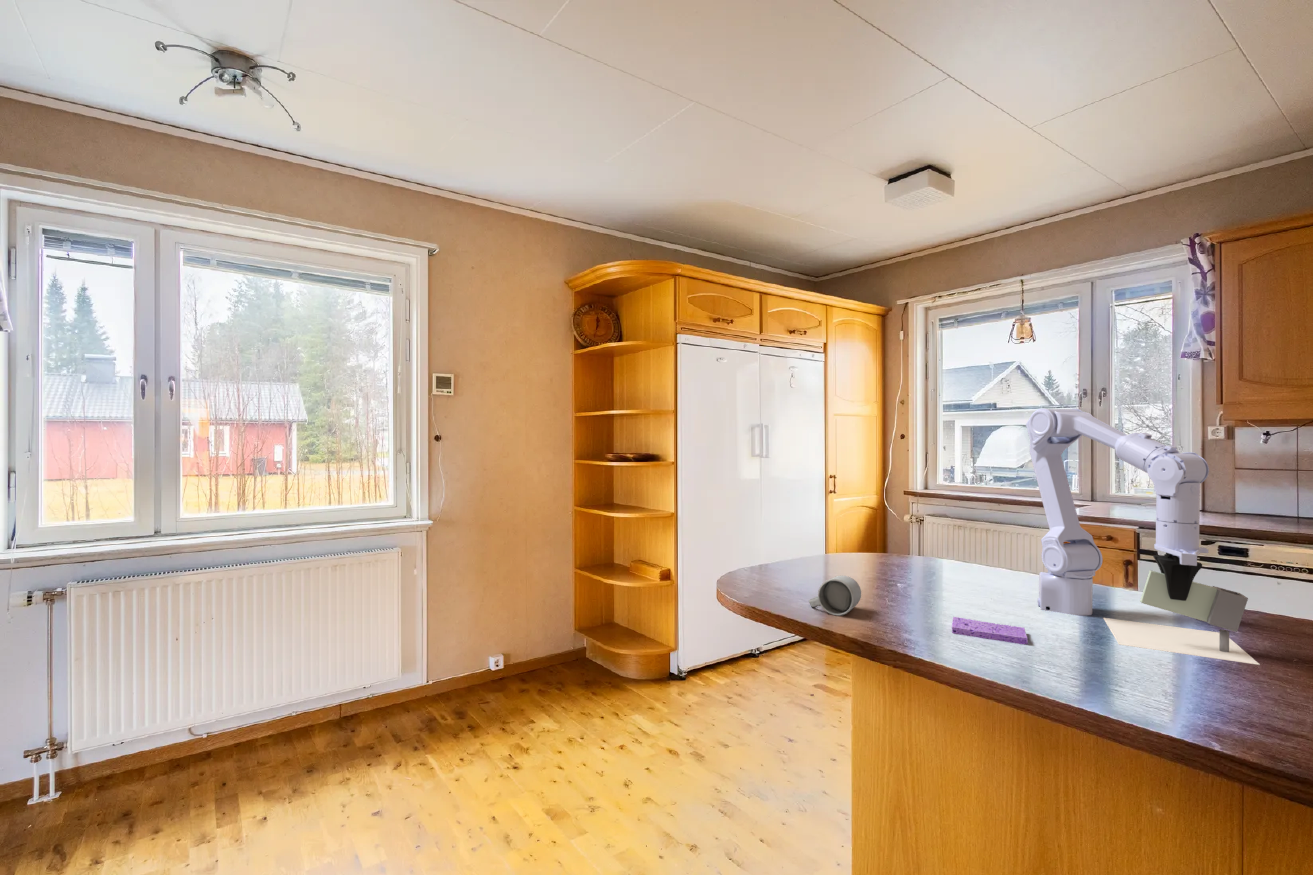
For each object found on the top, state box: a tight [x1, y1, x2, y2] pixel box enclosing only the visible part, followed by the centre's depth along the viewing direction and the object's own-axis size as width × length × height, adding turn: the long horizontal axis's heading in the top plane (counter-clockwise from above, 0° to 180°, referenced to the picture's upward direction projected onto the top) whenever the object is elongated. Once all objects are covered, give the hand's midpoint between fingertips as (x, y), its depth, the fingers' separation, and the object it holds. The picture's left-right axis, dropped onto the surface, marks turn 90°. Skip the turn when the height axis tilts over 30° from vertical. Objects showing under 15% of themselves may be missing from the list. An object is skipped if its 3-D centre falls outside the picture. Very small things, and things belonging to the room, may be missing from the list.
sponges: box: [951, 616, 1029, 645], centre depth 113 cm, size 7×13×2 cm, turn 60°
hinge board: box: [1102, 617, 1261, 666], centre depth 106 cm, size 18×17×5 cm
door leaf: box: [1139, 569, 1249, 633], centre depth 102 cm, size 13×4×6 cm, turn 60°
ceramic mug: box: [808, 575, 862, 617], centre depth 128 cm, size 11×8×8 cm
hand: (1176, 598), depth 103 cm, fingers closed on door leaf
